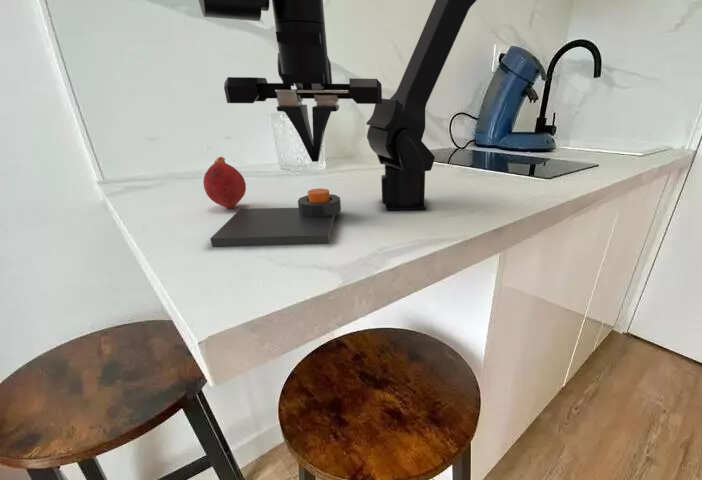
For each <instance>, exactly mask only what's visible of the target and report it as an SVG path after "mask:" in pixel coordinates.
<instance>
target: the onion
mask: <svg viewBox="0 0 702 480" xmlns="http://www.w3.org/2000/svg"><path fill="white" fill-rule="evenodd" d="M202 183H203V189H204V191H205V193H206V195H207V197H208V198H209V199H210V200H211V201H212V202H214V203H215V204H217V205H219V206H221V207H223V208H225V209H228V210H232V209H234V208H235V207H236V205H237V204H238V203H240V201H242V199H243V198H244V196H245V194H246V191H247V183H246V181H245V178H244V176H243V174H242V173H241V172H240V171H239V170H238V169H236V168H235V167H234V166H232V165H231V164H228V163H226V158H225V157H224V156H217V157H216V158H215V160H214V163H213V164H212V165H210V167H209V168H208V169H207V171H206V172H205V174H204V176H203V182H202Z"/></svg>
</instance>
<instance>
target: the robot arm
mask: <svg viewBox="0 0 702 480" xmlns="http://www.w3.org/2000/svg"><path fill="white" fill-rule="evenodd" d="M477 1H478V0H435V1H434V3H433V6H432V8H431V10H430V13H429V14H428V16H427V20H426V22H425V24H424V27H423V29H422V30H421V32H420V36H419V38H418V41H417V42H416V45H415V47H414V50H413V52H412V55H411V57H410V59H409V61H408V64H407V66H406V68H405V71H404V73H403V75H402V77H401V80H400V82H399V85H398V87H397V89H396V91H395V93H394V94H393V95H392V96H391V97H390V98H383V89H382V82H380V81H379V79H378V78H349V80H348V81H349V83H333V76H332V75H333V74H332V64H331V61H330V58H329V56H328V45H327V43H328V42H327V34H326V33H327V31H326V20H325V10H324V0H271V4H272V11H273V18H274V26H275V36H276V42H277V48H278V53H277V61H276V63H277V72H278V76H279V78H280V80H281V81H282V82H268V80H267V78H266V77H253V76H251V77H248V76H247V77H246V76H245V77H244V76H241V77H240V76H239V77H238V76H228V77H226V80H225V81H224V86H223V88H224V89H223V90H224V94H225V99H226V103H227V104H255V102H267V100H268V99H276V101H277V106H276V112H283V113H285V114H286V116H287V118H288V119H289V121H290V122H291V124H292V125H293V127H294V129H295V130H296V132H297V134H298V135H299V138H300V139H301V142H302V144H303V146H304V148H305V150H306V152H307V154H308V156H309V158H310V160H311V162H312V163H313V162H314V163H319V160H320V156H321V152H322V147H323V146H322V145H323V141H324V136H325V132H326V128H327V124H328V122H329V119H330V116H331V113H332V112H337V111H339V110H340V104H338V102H339V101H340V100H353V102H355V104H357V105H374V108H373V111H372V114H371V116H370V118H369V119H368V120H367V121H366V125H367V126H368V129H367V133H366V139H367V142H368V146H369V147H370V149H371V150H372V152H374V153H375V154H376V157H377V159H378V162H379V164H381V165H384V174H382V175H381V179H380V180H381V184H380V185H381V203H382V204H383V205H384V206H385V208H384V209H385V211H425V210H427V205H426V203H425V197H426V196H425V193H426V191H425V190H426V172H430V171H432V168H433V166H434V162H435V159H436V156H435V155H434V153H432V151H431V150H430V149H429V148H428V147H427V146H426V144H425V143H424V142H423V137H424V134H425V130H426V107H427V104H428V102H429V99H430V98H431V95H432V93H433V91H434V88H435V86H436V84H437V82H438V79H439V78H440V75H441V73H442V71H443V69H444V66H445V65H446V62H447V59H448V57H449V55H450V53H451V50H452V48H453V46H454V44H455V41H456V39H457V37H458V35H459V33H460V31H461V28H462V27H463V24H464V21H465V19H466V17H467V15H468V12H469V11H470V9H471V7H472V6H473V5H474V4H475V3H476V2H477ZM198 3H199V7H200V10H201V12H202V15H203V17H204V18H213V19H224V20H225V19H226V20H236V21H237V20H238V21H251V22H260V21H261V19H262V11H263V12H269V10H270V0H198ZM292 87H295V89H292ZM304 99H306V100H307V99H311V100H312V99H314V102H316V105H314V106H312V109H311V110H312V111H311V112H312V113H311V115H312V129H311V124H310V119H309V111H308V105H307V104H303V101H304Z"/></svg>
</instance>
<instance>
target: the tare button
mask: <svg viewBox="0 0 702 480" xmlns="http://www.w3.org/2000/svg"><path fill="white" fill-rule="evenodd" d="M329 194H330V190H329V189H327V188H312V189H309V190H308V191H307V195H308V198H309V202H313V203H322V202H328V201H330V195H329Z"/></svg>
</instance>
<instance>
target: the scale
mask: <svg viewBox="0 0 702 480" xmlns="http://www.w3.org/2000/svg"><path fill="white" fill-rule="evenodd" d="M329 195H330V201H328V202H322V203H313V202H309V198H308V194H307V195H304V196H301V197H299V198H298V200H297V206H298V207H266V208H265V207H261V208H256V207H255V208H240V209H238V211H236V213H234V215H233V216H232V217H231V218H230V219H229V220H228V221H226V223H224V224H223V226H221V227H220V228H219V229H218V230H217V231H216V232H215V233H214V234H213V235H212V236H211V237H210V238H209V239H210V244H211V246H212V247H211V248H227V247H228V248H229V247H261V246H262V247H264V246H265V247H266V246H295V245H296V246H297V245H300V246H301V245H329V244H330V240H331V236H332V232H333V228H334V224H335V220H336V216H337V214H339V213H341V211H342V203H341V197H340V196H338V195H336V194H332V193H329Z"/></svg>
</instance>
